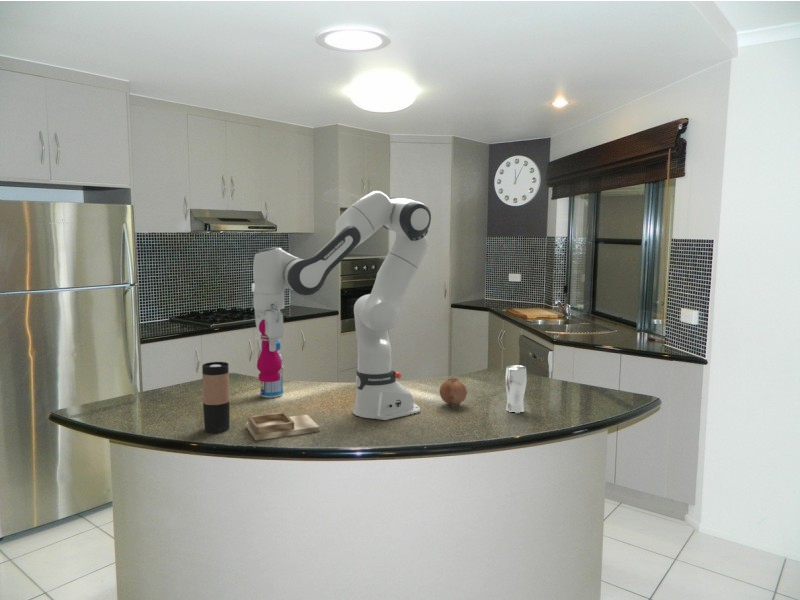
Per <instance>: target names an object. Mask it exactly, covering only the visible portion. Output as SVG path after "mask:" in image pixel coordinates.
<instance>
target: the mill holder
mask: <svg viewBox="0 0 800 600" xmlns="http://www.w3.org/2000/svg"><path fill="white" fill-rule="evenodd" d="M247 418H248V419H247V420H248V421H247V422H246V428H247V430H248V431H249V433H250V434H251V436H252V437H253V439H254V441H262V440H268V439H269V440H270V439H274V438H275V439H276V438H283V437H289V436H290V435H291V436H297V435H304V434H311V433H317V432H320V425H319V424H318V423H316V422H315V421H314V420H313V419H312V418H311V417H310V416H309V415H308V414H301V415H299V414H298V415H293V416H289V415H288V414H287V413H286V412H285V411H283V412H281V411H280V412H276V413H267V414H260V415H252V416H247ZM291 436H290V437H291Z"/></svg>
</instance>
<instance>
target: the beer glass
mask: <svg viewBox="0 0 800 600" xmlns="http://www.w3.org/2000/svg"><path fill="white" fill-rule="evenodd" d="M504 385H505V390H506V391H505V392H506V396H507V397H506V399H507V400H506V406H505V411H506V410H507V411H509V412H508V413H510V412H515V413H514V414H521V413H520V412H523V413H524V412H525V406H524V397H525V394H526V393H525V392H526V388H527V367H526V366H524V365H516V364H513V365H512V364H511V365H507V366H506V368H505V384H504ZM507 411H506V412H507Z"/></svg>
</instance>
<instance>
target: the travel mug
mask: <svg viewBox="0 0 800 600" xmlns="http://www.w3.org/2000/svg"><path fill="white" fill-rule="evenodd" d="M201 367H202V369H201V370H202V374H201V376H202V405H203V407H202V408H203V422H204V431H205V432H206V433H208V432H209V433H210V434H219V432H220V433H224V431H225V432H227V431H229V429H230V417H231V416H230V413H231V412H230V411H231V410H230V409H231V407H230V406H231V405H230V404H231V403H230V400H231V399H230V398H231V397H230V378H229V377H230V375H229V374H230V373H229V363H228V362H227V361H210V362H206V363H203V364H202V365H201Z"/></svg>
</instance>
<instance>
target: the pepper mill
mask: <svg viewBox="0 0 800 600" xmlns="http://www.w3.org/2000/svg"><path fill="white" fill-rule="evenodd" d="M264 321H265V320H264V319H263V320H262V321H261V322H260V323H259V330H258V331H259V332H260V333H261V334H260V340H261V344H262V347H261V352H260V354H259V357H258V359H257V361H256V368H257V370H258V371H259V373H258V381H259V382H261V381H262V382H275V381H278V380H280V373H279V372H278V371H279V370H280V369H281V367H282V364H283V361H282V362H281V358H280V356H279V354H278V352H277V348H276V351H269V337H268V336H267V335H265V322H264ZM260 372H261V373H260Z"/></svg>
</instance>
